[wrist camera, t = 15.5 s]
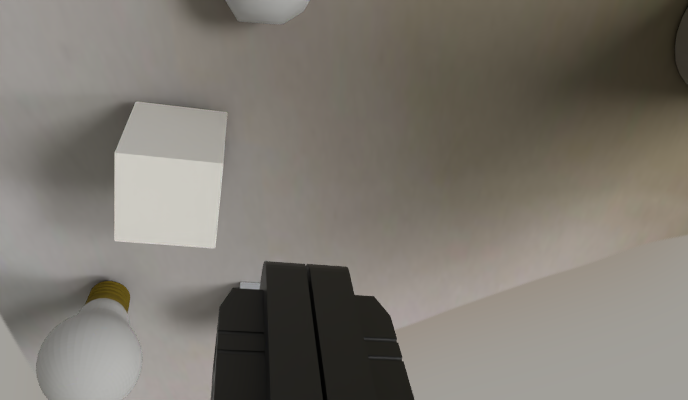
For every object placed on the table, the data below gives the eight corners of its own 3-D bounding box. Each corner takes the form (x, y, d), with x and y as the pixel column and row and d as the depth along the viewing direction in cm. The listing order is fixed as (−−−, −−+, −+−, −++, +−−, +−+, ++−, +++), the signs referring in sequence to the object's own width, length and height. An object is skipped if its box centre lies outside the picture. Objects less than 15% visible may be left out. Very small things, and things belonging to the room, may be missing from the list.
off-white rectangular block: (227, 112, 37) (223, 163, 31) (220, 188, 39) (215, 248, 34) (135, 101, 36) (114, 152, 30) (134, 180, 38) (114, 241, 33)
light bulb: (173, 296, 45) (155, 408, 36) (106, 333, 45) (73, 450, 37) (119, 239, 42) (85, 346, 33) (48, 279, 42) (-2, 393, 34)
